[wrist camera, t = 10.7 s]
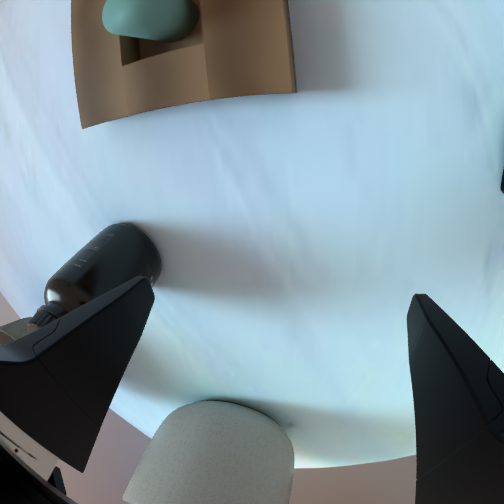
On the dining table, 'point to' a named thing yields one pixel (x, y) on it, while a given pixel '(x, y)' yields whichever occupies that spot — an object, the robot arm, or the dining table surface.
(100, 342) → the robot arm
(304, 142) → the dining table surface
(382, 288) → the dining table surface
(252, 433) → the planter
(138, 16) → the pin
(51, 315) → the supplement bottle
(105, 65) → the bore block
